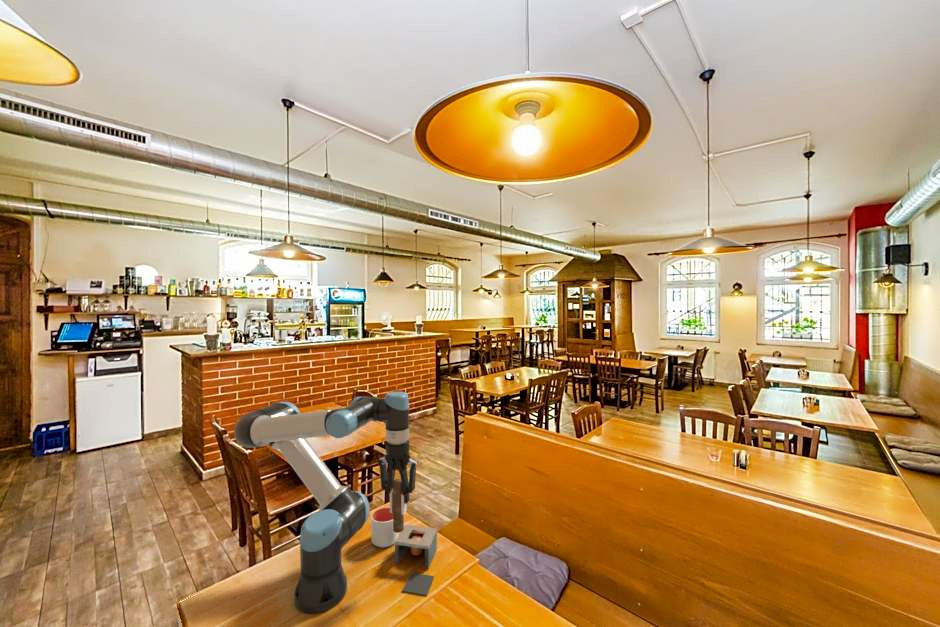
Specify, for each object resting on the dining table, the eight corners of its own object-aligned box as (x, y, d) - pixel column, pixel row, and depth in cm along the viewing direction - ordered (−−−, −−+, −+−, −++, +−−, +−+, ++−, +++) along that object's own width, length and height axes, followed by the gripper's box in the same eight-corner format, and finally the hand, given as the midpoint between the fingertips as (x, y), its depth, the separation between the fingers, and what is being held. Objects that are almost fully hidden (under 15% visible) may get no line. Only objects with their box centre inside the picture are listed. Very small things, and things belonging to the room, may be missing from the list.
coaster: (402, 591, 118) (402, 590, 118) (411, 573, 125) (411, 572, 125) (426, 596, 116) (426, 594, 116) (434, 577, 124) (434, 576, 124)
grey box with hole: (394, 564, 130) (394, 541, 129) (405, 545, 140) (405, 524, 139) (428, 569, 127) (428, 546, 127) (436, 550, 137) (436, 528, 137)
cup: (403, 537, 144) (403, 512, 144) (384, 552, 136) (384, 525, 135) (384, 529, 149) (384, 504, 149) (365, 542, 141) (365, 516, 141)
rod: (391, 531, 122) (390, 483, 122) (396, 525, 125) (395, 478, 125) (401, 533, 121) (400, 484, 121) (405, 527, 125) (404, 479, 124)
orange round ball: (409, 554, 132) (409, 541, 132) (413, 547, 136) (413, 535, 136) (419, 555, 131) (419, 543, 131) (423, 548, 135) (423, 536, 135)
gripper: (368, 442, 121) (369, 514, 122) (416, 447, 117) (417, 521, 118) (379, 434, 128) (380, 502, 129) (425, 438, 124) (426, 508, 125)
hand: (398, 511), depth 123 cm, fingers closed on rod, 3 cm apart
